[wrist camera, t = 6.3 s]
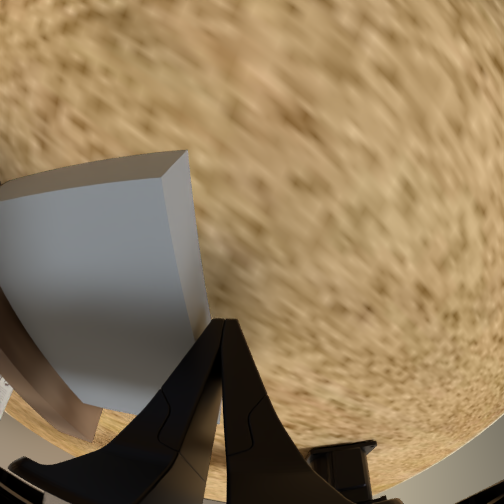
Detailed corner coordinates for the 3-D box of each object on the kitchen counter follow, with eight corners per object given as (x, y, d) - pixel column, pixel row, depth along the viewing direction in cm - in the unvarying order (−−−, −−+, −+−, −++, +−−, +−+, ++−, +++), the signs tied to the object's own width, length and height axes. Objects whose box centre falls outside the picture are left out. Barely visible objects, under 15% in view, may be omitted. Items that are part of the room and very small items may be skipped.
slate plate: (223, 376, 15) (219, 424, 12) (98, 363, 15) (83, 403, 13) (190, 146, 8) (161, 177, 6) (14, 176, 9) (-33, 209, 6)
